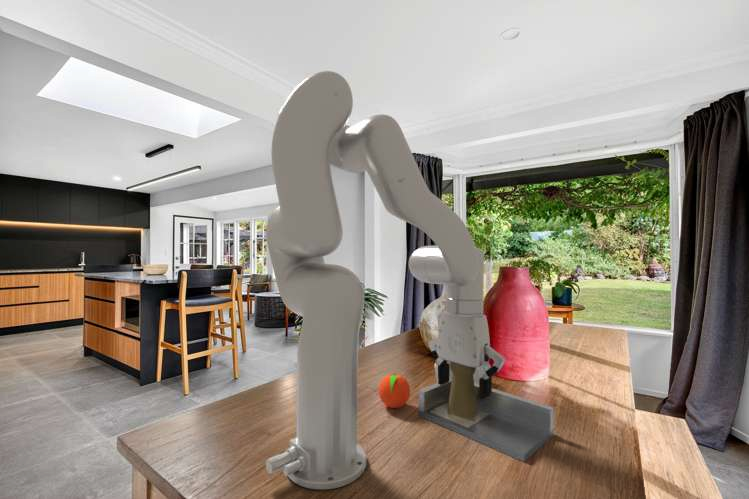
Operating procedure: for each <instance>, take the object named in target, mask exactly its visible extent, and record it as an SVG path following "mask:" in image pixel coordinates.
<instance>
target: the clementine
mask: <svg viewBox="0 0 749 499" xmlns="http://www.w3.org/2000/svg"><path fill="white" fill-rule="evenodd" d="M378 395H379V398H380V400H381V402H382V403H383V404H384V405H385V406H387V407H388V408H392V409H399V408H401V407H403V406H405V405H406V404H407V403H408V401H409V399H410V396H411V386H410V384H409V382H408V380H407V379H406V378H405V377H404V376H403V375H401V374H398V373H391V374H390V373H389V374H388V375H387V376H384V378H382V380H381V382H380V384H379V387H378Z"/></svg>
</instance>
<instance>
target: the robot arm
mask: <svg viewBox="0 0 749 499" xmlns="http://www.w3.org/2000/svg"><path fill="white" fill-rule="evenodd" d="M353 101H354V100H353V93H352V89H351V86H350V84H349V83H348V81H347V79H346V78H345V77H343V76H342V75H341V74H339V73H338V72H335V71H331V70H325V71H319V72H316V73H314V74H312V75H311V74H310V76H308V77H307V78H306V79H304V80H303V81H301V83H299V84H298V85H296V86H295V88H294V89H293V91H292V92H291V93H290V94H289V96H288V97H287V99H286V100H285V103H284V104H283V105H282V106H281V108H280V110H279V112H278V114H277V120H276V123H275V125H274V130H273V134H272V139H271V151H270V152H271V163H272V170H273V171H272V172H273V176H274V181H275V182H274V183H275V188H276V193H277V200H278V204H279V206H278V207H276V208H275V209H274V210H273V211H272V212H271V214H270V215H269V217H268V220H267V224H266V230H265V232H266V233H265V236H266V237H265V238H266V244H267V249H268V252H269V257H270V262H271V266H272V269H273V273H274V278H275V281H276V285H277V290H278V292H279V296H280V299H281V300H282V302H283V304H284V305H285V307H286V308H287V309H288V310H289V311H291V312H292V313H293V314H296V315H298V316H300V317H302V323H301V324H302V325H301V329H300V334H299V337H298V344H297V353H296V368H297V370H296V371H297V372H296V373H297V374H296V375H297V376H296V388H297V389H296V432H295V433H296V434H295V435H296V436H295V437H294V438H293V437H292V438H291V439H289V447H288V448H285V451H284V452H282V453H280V454H276V455H273V456H272V457H269V458H267V459H266V460H265V469H266V470H267V473H268V474H273V473H275V472H277V471H280V470H282V472H283V475H284V477H288V478H289V480H291V481H292V482H293V483H294V484H297V485H298V486H300V487H303V488H306V489H310V490H322V491H324V490H332V489H336V488H341V487H344V486H347V485H349V484H350V483H352V482H354V481H356V480H357V479H358V478H359V477H361V475H362V474H363V473H364V472H365V469H366V468H367V453H366V451H365V450H364V448H363V447H362V446H361V445H360V444H358V393H359V392H358V388H359V387H358V385H359V383H358V380H359V379H358V377H359V376H358V375H359V360H358V359H359V336H360V329H361V323H362V320H363V319H362V317H363V313H364V312H363V311H364V307H365V291H364V287H363V284H362V282H361V280H360V279H359V277H358V276H357V274H355V272H353V271H352V270H350V269H348V268H347V267H345V266H342V265H339V264H332V263H325V260H324V257H326V256H328V255H331V254H332V253H334V252H335V251H336V250H337V249H338V248H339V247H340V245H341V242H342V241H343V240H342V239H343V233H344V230H343V224H342V223H343V222H342V219H341V214H340V211H339V205H338V201H337V200H338V199H337V196H336V191H335V188H334V186H335V185H334V181H333V178H332V172H331V171H332V170H331V166H332V167H334V168H337V169H339V170H342V171H345V172H348V173H349V172H350V173H353V174H359V173H363V172H367V174H368V176H369V178H370V180H371V182H372V185H373V186H374V188H375V191H376V192H377V194H378V196H379V198H380V200H381V202H382V204H383V206H384V208H385V210H386V211H387V212H388V213H389V214H390V215H392V216H394V217H395V218H398V219H400V220H401V221H404V222H406V223H408V224H410V225H413V226H415V227H416V228H418V229H419V230H420V231H422V232H424V233H425V234H426V235H427V236H428V237H429V238H430V239H431V240H432V241H433V242H434V244H435V245H424V246H420V247H419V248H417V249H415V250H414V251H413V252H412V254H411V255H410V257H409V259H408V269H409V272H410V274H411V275H412V277H414V278H415V279H417V280H418V281H420V282H423V283H426V284H432V285H433V284H434V285H445V298H443V299H442V300H441V304H442V305H443V306H445V310H444V311H442V313H441V315H440V321H439V325H438V332H437V333H438V334H437V337H436V338H434V339H432V340H430V341H428V346H429V349H430V352H431V356H432V357H433V359H434V360H435V361H434V362H435V363H436V365H438V384H439V385H443V384H445V383H447V382H449V363H447V362H448V361H449V362H453V363H457V364H460V365H463V366H467V367H471V368H477V369H478V371H479V372H480V374H481V376H482V378H480V379H479V398H480V399H485V398H486V397H488V396H490V394H491V392H492V388H493V387H492V386H493V383H492V381H493V380H492V379H493V378H492V377H494V376H495V375H496V374H498V373H499V372H500V371H501V368H502V367H503V365H504V363H505V362H506V358H505V357H504V356H502V354H500V353H499V351H498V352H497V351H496V349H494V348H492V347H491V344H490V343H491V341H490V333H489V332H490V331H489V330H490V329H489V325H488V319H487V315H485V314H484V285H485V284H484V283H485V282H484V281H485V279H484V278H485V277H484V275H485V270H484V269H485V268H484V267H485V259H484V258H485V256H484V252H483V250H482V249H481V248H479V247H476V245H475V243H474V241H473V237H472V236H471V234H470V231H469V229H468V227H467V225H466V224H465V223H464V221H463V220H462V219H461V217H460V216H459V215H458V214H457V213H456V212H455V211H454V210H453V209H452V208H450V207H449V205H447V204H446V202H444V201H443V200H441V199H440V198H439V197H437V196H436V195H435V194H434V193H433V192H431V191H430V189H429V187H428V185H427V184H426V181H425V180H424V177H423V175H422V173H421V171H420V168H419V166H418V163H417V162H416V159H415V157H414V155H413V152H412V150H411V147H410V146H409V144H408V141H407V139H406V136H405V135H404V132H403V130H402V128H401V127H400V124H399V123H398V122H397V120H396V119H395V118H393V117H392V116H390V115H388V114H375V115H372V116H369V117H367V118H365V119H362V120H360V121H359V122H357V123H356V124H354V125H352V126H350V125H347V123H348V122H349V120H350V117H351V115H352V111H353V106H354V102H353ZM490 359H492V360H493V365H492V366H491V364H490ZM435 363H434V364H435Z"/></svg>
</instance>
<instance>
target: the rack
mask: <svg viewBox="0 0 749 499" xmlns="http://www.w3.org/2000/svg"><path fill="white" fill-rule="evenodd" d="M451 382H452V377H450V378H449V382H447V383H445V384H443V385H439V384H438V383H437V382H435V383H433V384H431V385H429V386H426V387H423V388H420V389H418V405H417V407H418V408H417V409H418V410H417V411H418V412H417V414H418V415H417V416H419V417H421V418H423V419H426V420H427V421H430V422H432V423H435V424H436V425H439V426H441V427H444V428H445V429H448V430H450V431H453V432H454V433H457V434H459V435H462V436H464V437H466V438H468V439H470V440H473V441H475V442H477V443H480V444H482V445H485V446H487V447H488V448H491V449H494V450H495V451H498V452H501V453H502V454H505V455H507V456H510V457H512V458H513V459H516V460H518V461H520V462H523V463H525V462H526V461H527V460H529V459H530V457H531V456H532V455H533V454H535V453H536V452H537V451H538V450H539V449H540V448H541V447H543V446H544V444H545V443H546V442H548V441H549V440H550V439H551V438H552V437H553V436H554V435H555V428H554V406H550V405H547V404H544V403H541V402H537V401H534V400H531V399H528V398H524V397H521V396H518V395H515V394H511V393H507V392H506V391H502V390H499V389H496V388H493V387H492V392H491V394H490V396H488V397H486V398H485V399H480V398H479V384H476V383H474V386H475V394H476V403H477V411H478V413H477V415H476V416H473V417H459V416H455V415H453V414H451V413H450V412H449V411H448V403H449V396H450V389H451Z"/></svg>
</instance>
